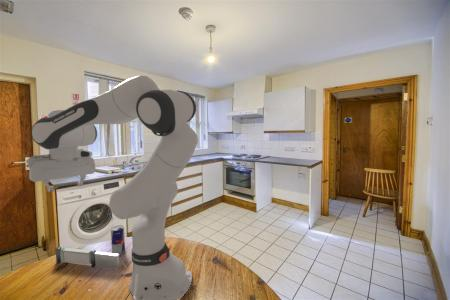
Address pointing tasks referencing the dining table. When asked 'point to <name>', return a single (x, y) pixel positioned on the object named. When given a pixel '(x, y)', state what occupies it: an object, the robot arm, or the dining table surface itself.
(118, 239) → the energy drink
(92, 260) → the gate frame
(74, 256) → the gate
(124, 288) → the dining table surface
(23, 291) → the dining table surface
